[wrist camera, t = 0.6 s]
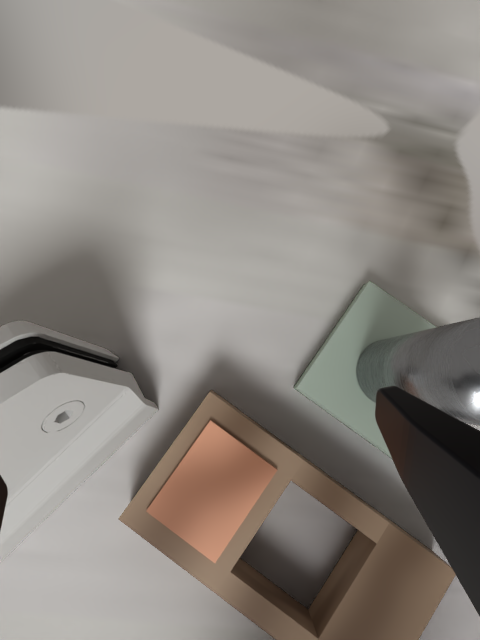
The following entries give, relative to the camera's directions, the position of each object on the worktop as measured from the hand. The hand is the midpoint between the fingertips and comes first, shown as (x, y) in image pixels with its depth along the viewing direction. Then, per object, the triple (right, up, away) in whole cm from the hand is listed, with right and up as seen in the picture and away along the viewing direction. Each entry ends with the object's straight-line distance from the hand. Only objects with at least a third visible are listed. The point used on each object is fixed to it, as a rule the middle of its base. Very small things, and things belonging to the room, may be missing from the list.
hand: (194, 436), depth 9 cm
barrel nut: (+10, 0, +14) cm, 17 cm away
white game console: (-12, -5, +14) cm, 19 cm away
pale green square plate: (+10, -1, +15) cm, 18 cm away
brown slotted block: (+3, -9, +14) cm, 17 cm away
